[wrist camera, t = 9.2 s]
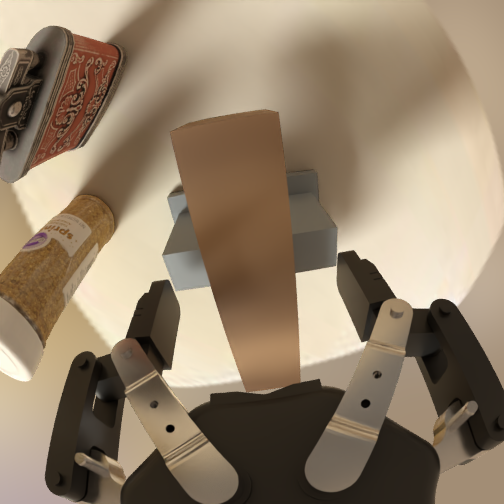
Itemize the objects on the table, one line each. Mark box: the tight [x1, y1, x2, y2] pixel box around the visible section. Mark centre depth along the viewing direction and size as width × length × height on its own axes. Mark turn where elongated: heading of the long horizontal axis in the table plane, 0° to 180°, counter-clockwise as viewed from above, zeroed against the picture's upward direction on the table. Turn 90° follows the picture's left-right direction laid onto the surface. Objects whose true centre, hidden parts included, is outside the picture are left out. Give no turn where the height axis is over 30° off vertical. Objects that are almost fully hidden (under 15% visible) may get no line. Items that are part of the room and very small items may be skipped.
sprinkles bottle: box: [0, 195, 114, 381], centre depth 13 cm, size 5×4×14 cm
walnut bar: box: [170, 109, 300, 392], centre depth 12 cm, size 14×3×4 cm, turn 9°
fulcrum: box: [162, 170, 337, 291], centre depth 17 cm, size 5×10×6 cm, turn 99°
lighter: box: [0, 26, 127, 183], centre depth 9 cm, size 8×3×10 cm, turn 145°
